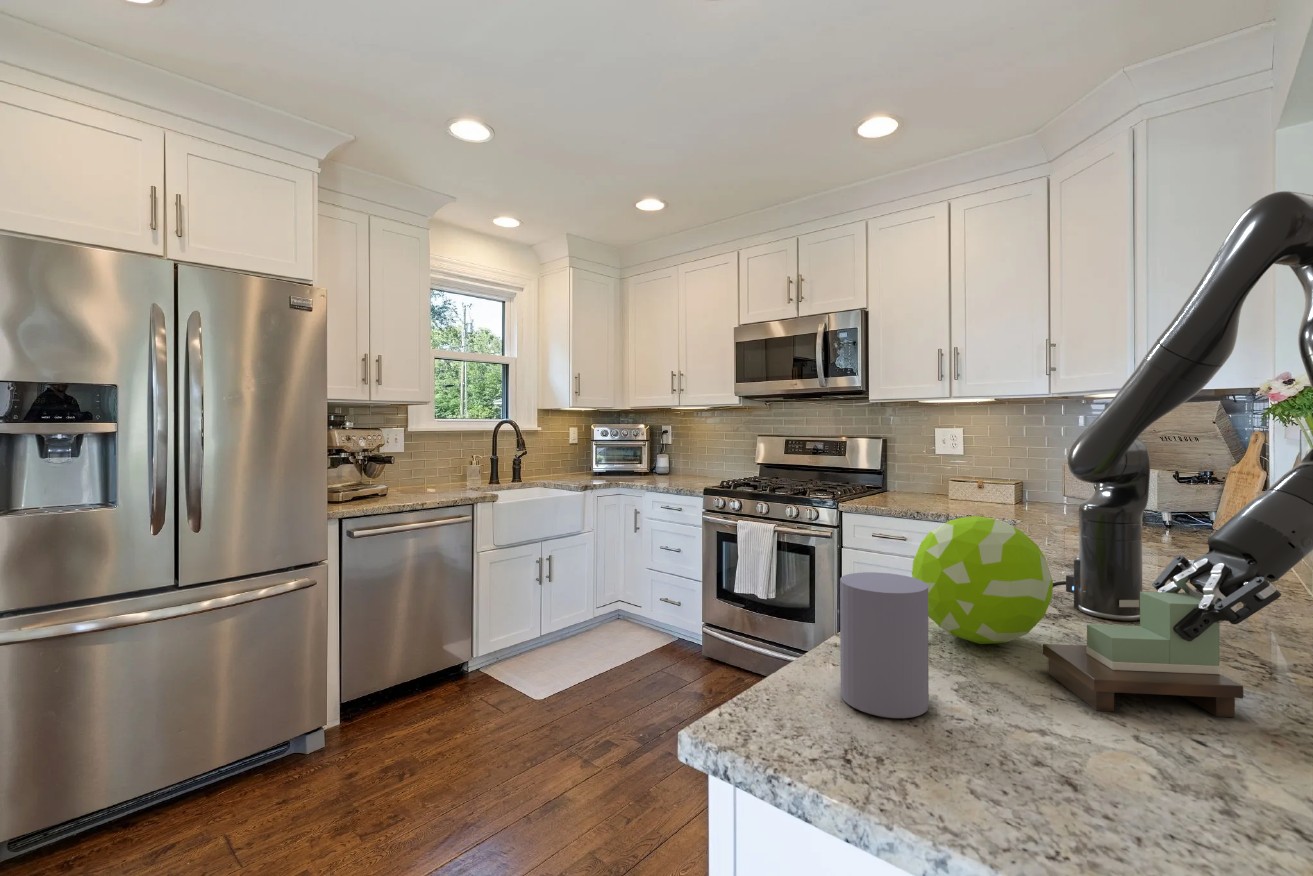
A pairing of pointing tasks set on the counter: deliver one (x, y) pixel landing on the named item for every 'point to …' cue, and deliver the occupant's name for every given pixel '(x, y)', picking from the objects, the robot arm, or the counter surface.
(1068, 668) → the shoe shelf
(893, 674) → the container
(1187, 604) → the sage green stepped block
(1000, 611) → the melon
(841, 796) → the counter surface
